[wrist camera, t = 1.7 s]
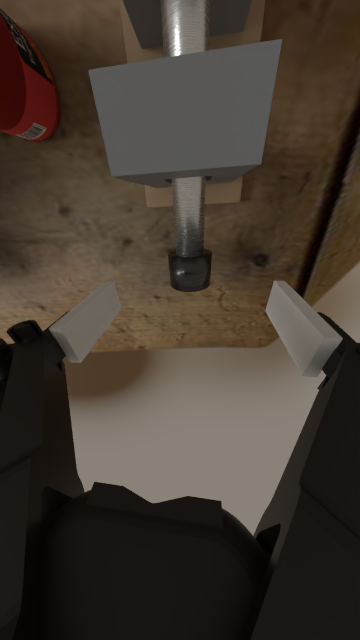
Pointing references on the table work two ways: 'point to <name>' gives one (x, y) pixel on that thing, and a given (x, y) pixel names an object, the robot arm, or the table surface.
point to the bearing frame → (188, 102)
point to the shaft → (189, 193)
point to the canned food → (25, 86)
